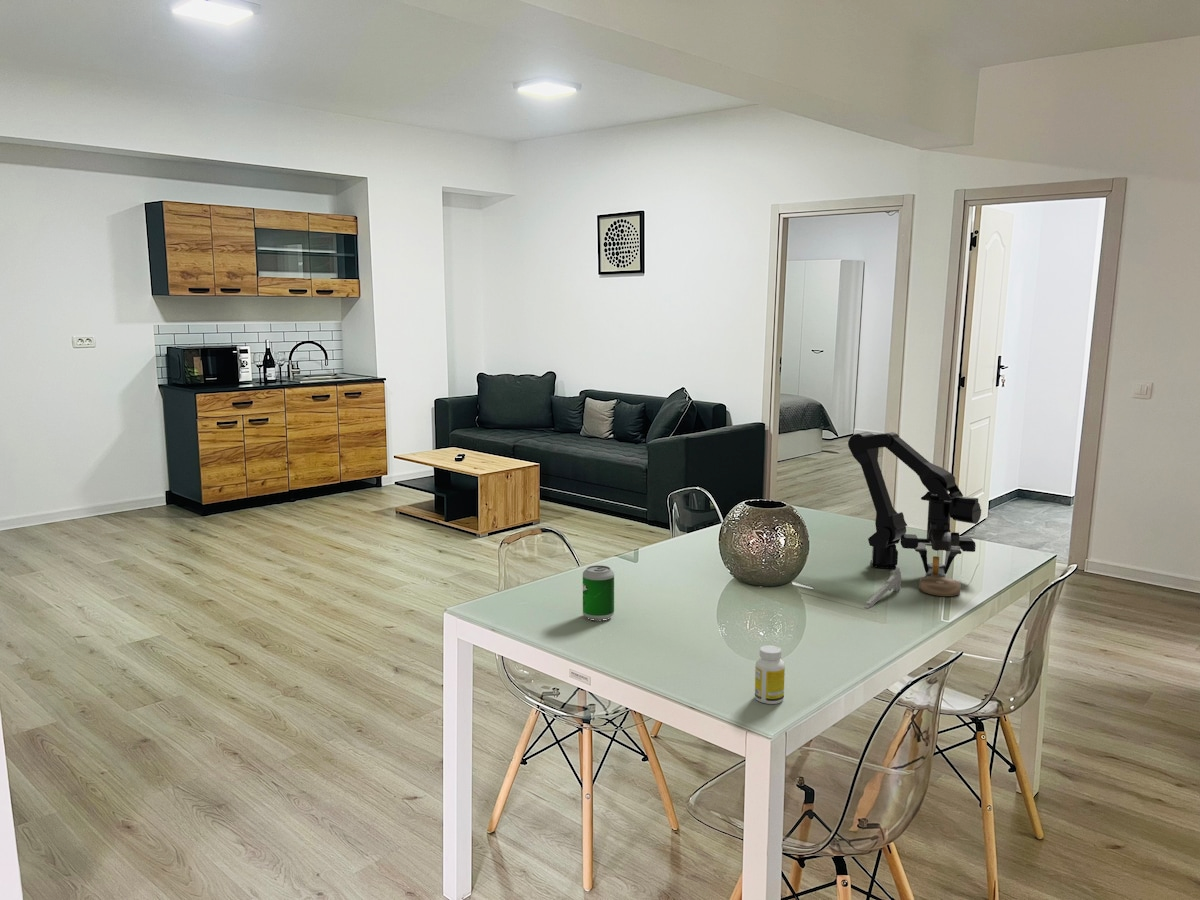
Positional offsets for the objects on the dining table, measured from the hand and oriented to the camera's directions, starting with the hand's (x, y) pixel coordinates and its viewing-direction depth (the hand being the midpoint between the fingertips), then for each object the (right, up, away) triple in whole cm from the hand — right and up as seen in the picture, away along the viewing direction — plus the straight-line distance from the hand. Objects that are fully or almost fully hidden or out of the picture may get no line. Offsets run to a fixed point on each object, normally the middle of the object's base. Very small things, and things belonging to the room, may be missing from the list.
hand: (935, 573), depth 246 cm
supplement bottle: (-61, -13, -78) cm, 99 cm away
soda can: (-93, -6, -32) cm, 99 cm away
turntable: (-3, -2, -11) cm, 12 cm away
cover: (0, -1, 0) cm, 1 cm away
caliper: (-20, -4, -18) cm, 28 cm away
